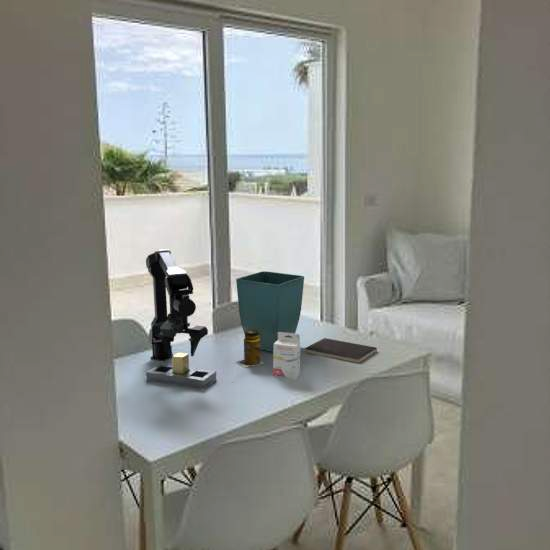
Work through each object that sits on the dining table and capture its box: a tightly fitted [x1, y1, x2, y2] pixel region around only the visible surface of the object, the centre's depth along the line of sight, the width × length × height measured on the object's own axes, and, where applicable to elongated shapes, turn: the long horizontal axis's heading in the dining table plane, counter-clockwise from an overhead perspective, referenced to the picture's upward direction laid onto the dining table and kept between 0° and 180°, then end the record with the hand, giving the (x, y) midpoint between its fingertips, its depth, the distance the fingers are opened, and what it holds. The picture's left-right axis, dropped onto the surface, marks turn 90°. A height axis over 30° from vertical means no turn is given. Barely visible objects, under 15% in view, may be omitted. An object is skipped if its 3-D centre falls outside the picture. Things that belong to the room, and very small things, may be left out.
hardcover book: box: [304, 337, 378, 363], centre depth 229 cm, size 16×23×2 cm
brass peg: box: [171, 352, 190, 375], centre depth 200 cm, size 4×4×9 cm
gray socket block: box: [145, 363, 217, 390], centre depth 201 cm, size 22×9×3 cm, turn 68°
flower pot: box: [235, 270, 305, 353], centre depth 234 cm, size 20×20×28 cm
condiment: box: [235, 330, 265, 368], centre depth 216 cm, size 7×8×12 cm
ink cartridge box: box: [272, 332, 301, 379], centre depth 204 cm, size 9×5×15 cm, turn 71°
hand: (180, 354), depth 199 cm, fingers open, 9 cm apart
